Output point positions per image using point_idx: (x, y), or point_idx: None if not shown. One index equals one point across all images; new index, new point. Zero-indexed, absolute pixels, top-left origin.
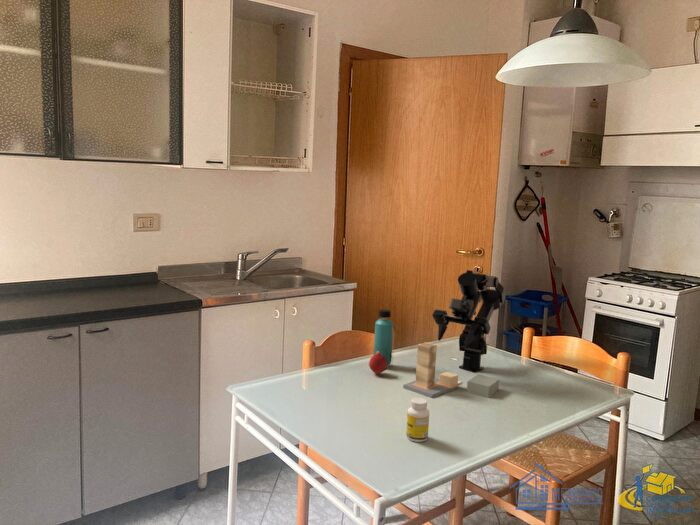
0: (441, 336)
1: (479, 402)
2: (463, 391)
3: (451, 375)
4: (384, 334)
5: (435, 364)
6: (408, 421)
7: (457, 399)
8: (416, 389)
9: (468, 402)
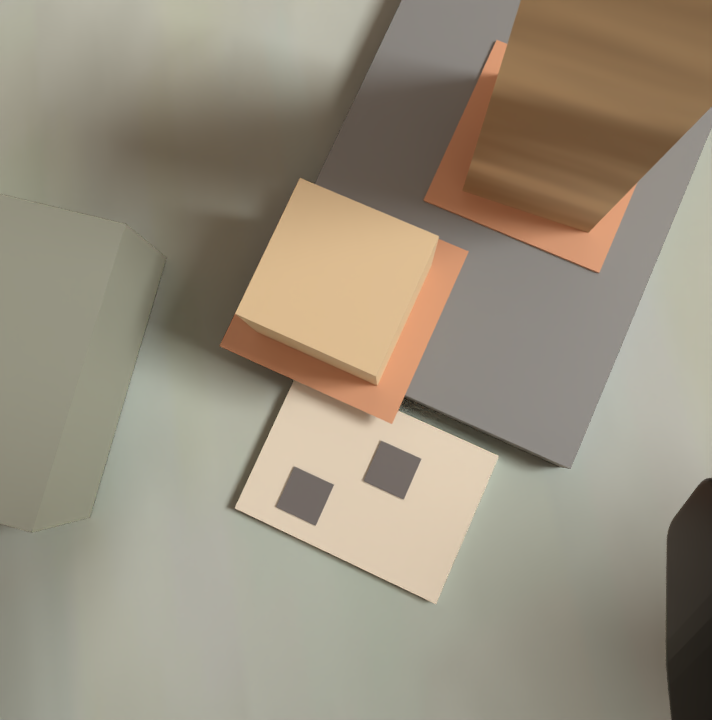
0: (699, 650)
1: (40, 67)
2: (195, 263)
3: (304, 259)
4: None
5: (499, 73)
6: None
7: (217, 46)
8: None
9: (124, 25)
